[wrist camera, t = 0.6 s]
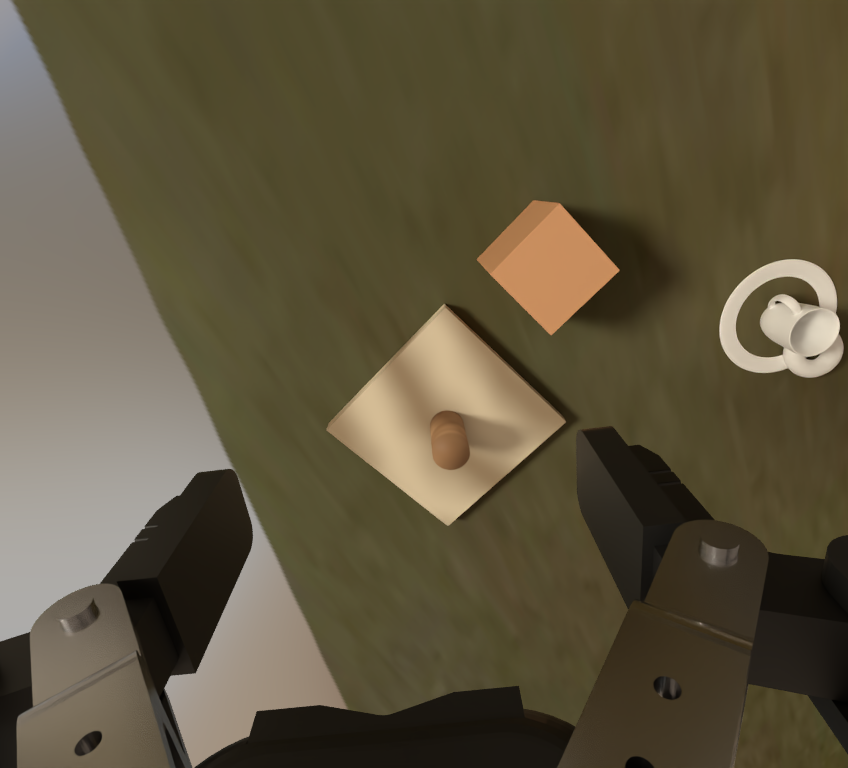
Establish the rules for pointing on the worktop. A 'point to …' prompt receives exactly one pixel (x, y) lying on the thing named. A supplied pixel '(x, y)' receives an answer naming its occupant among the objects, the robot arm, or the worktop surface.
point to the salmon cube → (548, 263)
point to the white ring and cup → (788, 323)
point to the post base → (445, 386)
